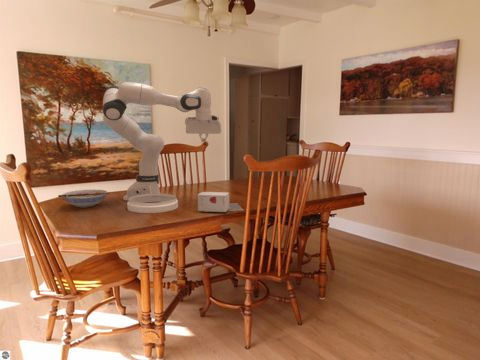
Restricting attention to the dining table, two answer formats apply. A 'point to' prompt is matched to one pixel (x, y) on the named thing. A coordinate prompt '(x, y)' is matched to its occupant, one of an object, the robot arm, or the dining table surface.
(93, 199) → the ramen bowl
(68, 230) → the dining table surface
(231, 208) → the grey flat slab
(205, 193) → the supplement box
